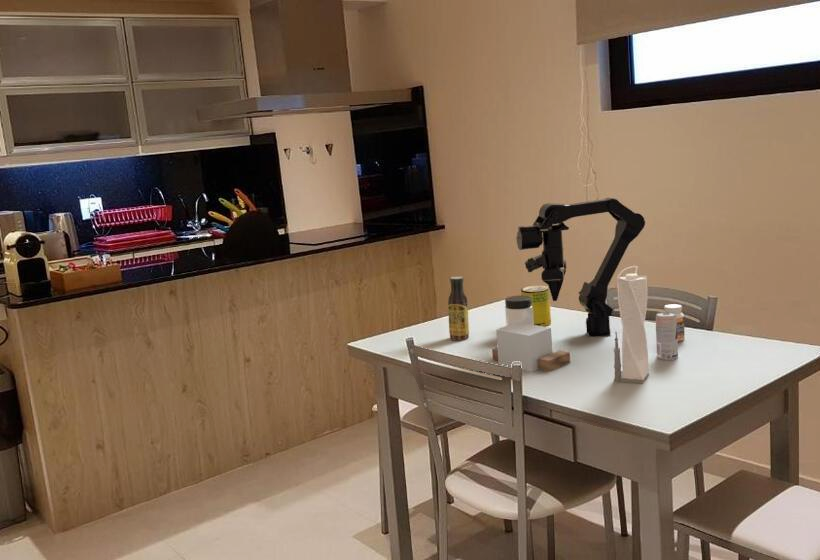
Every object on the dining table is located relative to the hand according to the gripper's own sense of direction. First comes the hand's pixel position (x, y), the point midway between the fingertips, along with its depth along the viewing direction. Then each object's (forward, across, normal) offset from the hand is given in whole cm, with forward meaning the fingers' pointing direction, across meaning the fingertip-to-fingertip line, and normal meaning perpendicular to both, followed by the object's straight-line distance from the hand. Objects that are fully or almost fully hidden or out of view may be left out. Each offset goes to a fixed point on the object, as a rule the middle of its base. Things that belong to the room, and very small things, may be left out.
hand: (555, 297), depth 227 cm
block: (+13, +23, -8) cm, 28 cm away
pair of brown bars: (+13, +21, -6) cm, 26 cm away
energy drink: (+13, +20, +30) cm, 38 cm away
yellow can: (+13, -18, -8) cm, 24 cm away
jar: (+13, -5, -12) cm, 19 cm away
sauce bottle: (+13, -3, -31) cm, 34 cm away
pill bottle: (+13, +3, +33) cm, 36 cm away
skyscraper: (+13, +36, +21) cm, 44 cm away
